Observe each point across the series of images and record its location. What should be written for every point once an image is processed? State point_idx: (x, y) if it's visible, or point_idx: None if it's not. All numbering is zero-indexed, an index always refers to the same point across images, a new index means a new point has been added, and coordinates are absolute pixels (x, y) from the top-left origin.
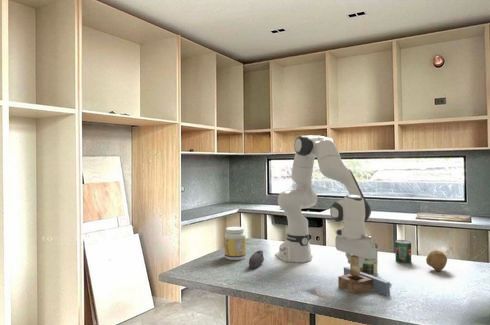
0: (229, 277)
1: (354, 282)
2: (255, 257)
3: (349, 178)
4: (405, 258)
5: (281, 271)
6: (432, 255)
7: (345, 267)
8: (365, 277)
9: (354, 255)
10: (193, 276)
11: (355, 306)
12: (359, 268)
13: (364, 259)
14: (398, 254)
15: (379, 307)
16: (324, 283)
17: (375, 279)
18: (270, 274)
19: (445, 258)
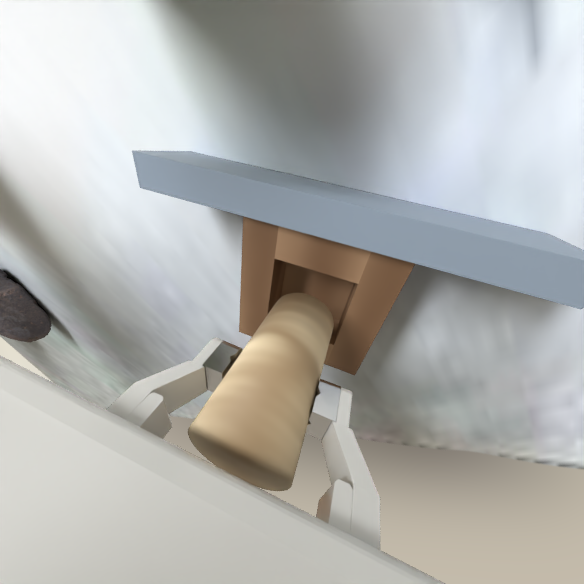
0: (103, 378)
1: (344, 368)
2: (3, 328)
3: None
4: None
5: (73, 288)
6: None
7: (143, 178)
8: (352, 260)
9: (216, 443)
10: (90, 395)
11: (408, 419)
12: (323, 360)
13: (375, 492)
14: None
15: (504, 405)
16: (209, 302)
17: (448, 271)
18: (95, 325)
19: None
